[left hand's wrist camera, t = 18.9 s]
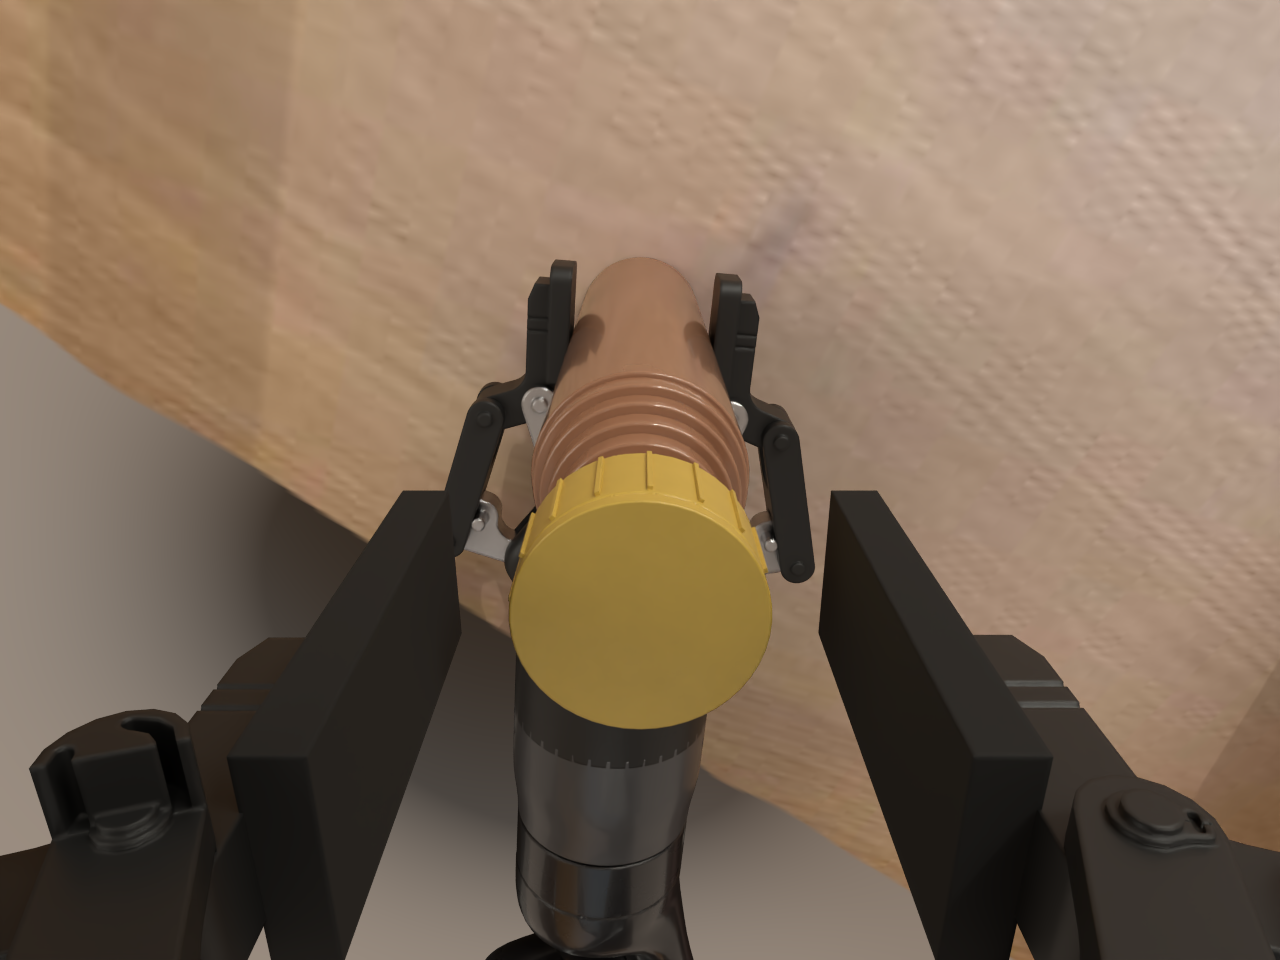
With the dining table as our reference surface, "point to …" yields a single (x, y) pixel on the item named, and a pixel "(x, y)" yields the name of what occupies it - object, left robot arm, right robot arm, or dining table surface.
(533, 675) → the cap
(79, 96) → the dining table surface
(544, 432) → the bottle
